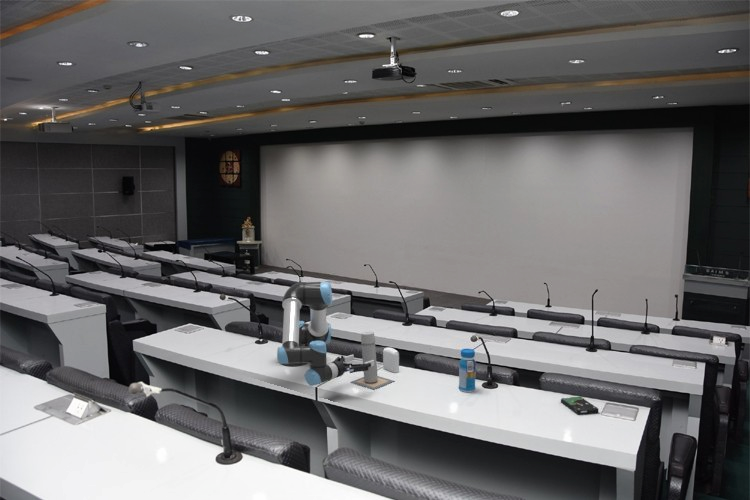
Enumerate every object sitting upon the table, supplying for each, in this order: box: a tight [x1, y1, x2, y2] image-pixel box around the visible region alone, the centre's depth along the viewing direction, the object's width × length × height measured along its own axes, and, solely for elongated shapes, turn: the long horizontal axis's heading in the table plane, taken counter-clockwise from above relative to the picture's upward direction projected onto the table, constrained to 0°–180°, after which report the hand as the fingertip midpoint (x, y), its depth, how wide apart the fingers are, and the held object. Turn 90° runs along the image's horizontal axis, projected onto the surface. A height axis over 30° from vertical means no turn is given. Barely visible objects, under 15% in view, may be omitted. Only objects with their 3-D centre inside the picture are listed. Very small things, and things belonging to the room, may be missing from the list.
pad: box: [350, 375, 395, 391], centre depth 282 cm, size 16×16×1 cm
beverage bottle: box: [458, 348, 477, 393], centre depth 271 cm, size 8×8×20 cm
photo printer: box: [382, 347, 400, 373], centre depth 301 cm, size 10×4×12 cm, turn 39°
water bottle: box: [360, 331, 379, 383], centre depth 281 cm, size 9×8×25 cm
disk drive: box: [560, 396, 599, 416], centre depth 250 cm, size 10×3×15 cm
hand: (363, 359), depth 275 cm, fingers open, 13 cm apart
